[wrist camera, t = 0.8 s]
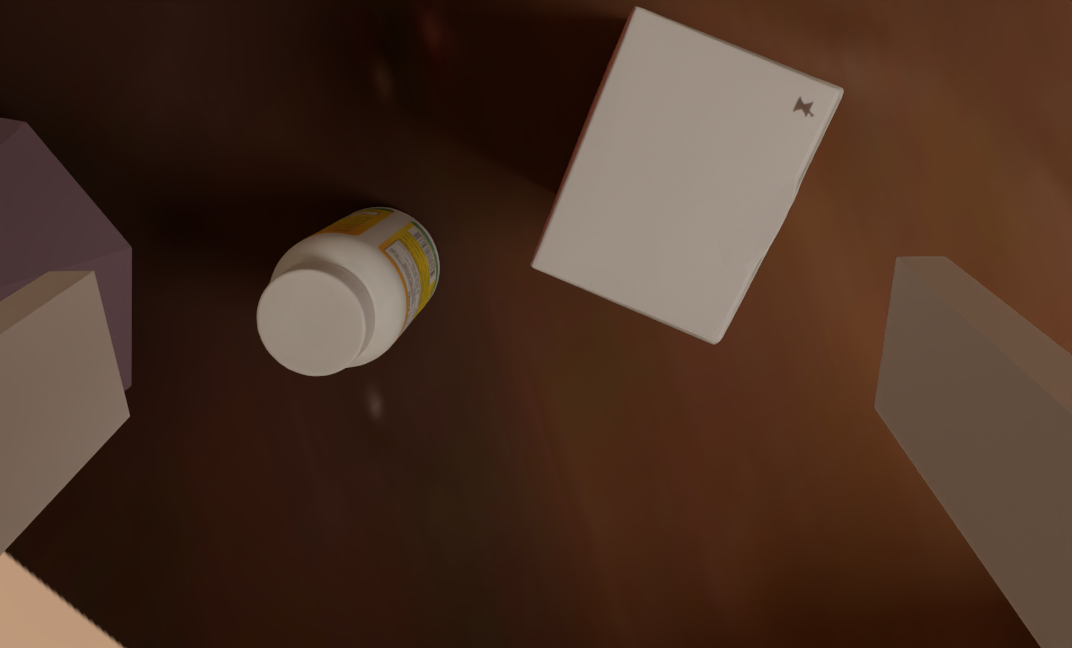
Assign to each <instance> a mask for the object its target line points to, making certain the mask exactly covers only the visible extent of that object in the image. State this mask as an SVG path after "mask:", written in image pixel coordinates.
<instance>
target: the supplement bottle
mask: <svg viewBox="0 0 1072 648" xmlns="http://www.w3.org/2000/svg"><path fill="white" fill-rule="evenodd" d="M439 269H440V266H439V257H438V252H437V249H436V246H435V244H434V242H433V240H432V238H431V236H430V234H429V233H428V232H427V230H426V229H425V228H424V227H423V226H422V225H421V224H420V223H419V222H418V221H417V220H415V219H414V218H413V217H411V216H409V215H408V214H406V213H404V212H402V211H399V210H396V209H392V208H387V207H372V208H366V209H362V210H359V211H356V212H354V213H352V214H350V215H348V216H346V217H344V218H342V219H340V220H339V221H337V222H335V223H333V224H332V225H330V226H328V227H326V228H324V229H322V230H320V231H319V232H317V233H315V234H313V235H311V236H309V237H308V238H306V239H304V240H302V241H300V242H299V243H297V244H296V245H294V246H293V247H292V248H291V249H289V250H288V251H287V252H286V253H285V254H284V256H283V257H282V258H281V259H280V261H279V262H278V264H277V266H276V268H275V270H274V272H273V275H272V278H271V281H270V284H269V285H268V286H267V287H266V289H265V290H264V292H263V294H262V295H261V298H260V300H259V304H258V308H257V327H258V331H259V335H260V337H261V340H262V342H263V344H264V345H265V347H266V349H267V350H268V352H269V353H270V354H271V355H272V356H273V357H274V358H275V359H276V360H277V361H278V362H279V363H280V364H282V365H283V366H285V367H286V368H288V369H290V370H292V371H295V372H297V373H300V374H304V375H309V376H324V375H330V374H333V373H336V372H338V371H341V370H343V369H344V368H348V367H355V366H359V365H363V364H366V363H368V362H370V361H372V360H374V359H376V358H378V357H379V356H380V355H382V354H383V353H384V352H386V351H387V350H388V349H389V348H390V347H391V345H392V344H393V343H394V342H395V341H396V340H397V339H398V337H399V336H400V335H401V334H402V333H403V331H404V330H405V329H406V328H407V327H408V325H409V324H410V323H411V321H412V320H413V319H414V318H415V317H416V315H417V314H418V313H419V312H420V311H421V310H422V308H423V307H424V306H425V305H426V304H427V302H428V301H429V299H430V298H431V296H432V295H433V293H434V291H435V289H436V286H437V283H438V278H439Z"/></svg>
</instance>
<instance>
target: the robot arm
mask: <svg viewBox="0 0 1072 648" xmlns="http://www.w3.org/2000/svg"><path fill="white" fill-rule="evenodd" d="M874 408H875V410H876V411H877V413H878V414H879V416H880V417H881V418H882V420H883V421H884V423H885V424H886V426H887V427H888V429H889V430H890V431H891V433H892V434H893V436H894V437H895V439H896V440H897V441H898V443H899V444H900V446H901V447H902V449H903V450H904V452H905V453H906V454H907V456H908V457H909V459H910V460H911V462H912V463H913V464H914V466H915V467H916V469H917V470H918V472H919V473H920V475H921V476H922V477H923V479H924V480H925V482H926V483H927V485H928V486H929V488H930V489H931V490H932V492H933V493H934V495H935V496H936V498H937V499H938V500H939V502H940V503H941V505H942V506H943V508H944V509H945V511H946V512H947V513H948V515H949V516H950V518H951V519H952V521H953V522H954V524H955V525H956V526H957V528H958V529H959V531H960V532H961V534H962V535H963V536H964V538H965V539H966V541H967V542H968V544H969V545H970V547H971V548H972V549H973V551H974V552H975V554H976V555H977V557H978V558H979V559H980V561H981V562H982V564H983V565H984V567H985V568H986V570H987V571H988V572H989V574H990V575H991V577H992V578H993V580H994V581H995V583H996V584H997V585H998V587H999V588H1000V590H1001V591H1002V593H1003V594H1004V595H1005V597H1006V598H1007V600H1008V601H1009V603H1010V604H1011V606H1012V607H1013V608H1014V610H1015V611H1016V613H1017V614H1018V616H1019V617H1020V619H1021V620H1022V621H1023V623H1024V624H1025V626H1026V627H1027V629H1028V630H1029V631H1030V633H1031V634H1032V636H1033V637H1034V639H1035V640H1036V642H1037V643H1038V644H1039V646H1040V647H1041V648H1072V355H1071V354H1070V353H1068V352H1067V351H1066V350H1064V349H1063V348H1062V347H1061V346H1059V345H1058V344H1057V343H1056V342H1054V341H1053V340H1052V339H1050V338H1049V337H1048V336H1047V335H1045V334H1044V333H1043V332H1041V331H1040V330H1039V329H1038V328H1036V327H1035V326H1034V325H1032V324H1031V323H1030V322H1029V321H1027V320H1026V319H1025V318H1024V317H1022V316H1021V315H1020V314H1018V313H1017V312H1016V311H1015V310H1013V309H1012V308H1011V307H1009V306H1008V305H1007V304H1006V303H1004V302H1003V301H1002V300H1001V299H999V298H998V297H997V296H995V295H994V294H993V293H992V292H990V291H989V290H988V289H986V288H985V287H984V286H983V285H981V284H980V283H979V282H977V281H976V280H975V279H974V278H972V277H971V276H970V275H969V274H967V273H966V272H965V271H963V270H962V269H961V268H960V267H958V266H957V265H956V264H954V263H953V262H952V261H951V260H949V259H948V258H947V257H945V256H922V257H896V264H895V271H894V277H893V284H892V291H891V297H890V304H889V311H888V318H887V324H886V331H885V338H884V344H883V351H882V358H881V365H880V371H879V378H878V385H877V392H876V398H875V405H874ZM129 417H130V414H129V410H128V406H127V402H126V398H125V394H124V390H123V386H122V381H121V377H120V373H119V369H118V365H117V361H116V357H115V353H114V349H113V345H112V341H111V337H110V333H109V329H108V325H107V321H106V317H105V313H104V309H103V305H102V301H101V297H100V292H99V288H98V284H97V280H96V276H95V272H94V271H49V272H47V273H45V274H44V275H42V276H41V277H39V278H37V279H36V280H34V281H33V282H31V283H29V284H28V285H26V286H24V287H23V288H21V289H20V290H18V291H16V292H15V293H13V294H12V295H10V296H8V297H7V298H5V299H4V300H2V301H0V555H1V554H2V553H3V552H4V551H5V550H6V549H7V548H8V547H9V545H10V544H11V543H12V542H13V541H14V540H15V539H16V538H17V537H18V536H19V535H20V534H21V533H22V532H23V530H24V529H25V528H26V527H27V526H28V525H29V524H30V523H31V522H32V521H33V520H34V519H35V518H36V517H37V515H38V514H39V513H40V512H41V511H42V510H43V509H44V508H45V507H46V506H47V505H48V504H49V503H50V501H51V500H52V499H53V498H54V497H55V496H56V495H57V494H58V493H59V492H60V491H61V490H62V489H63V488H64V486H65V485H66V484H67V483H68V482H69V481H70V480H71V479H72V478H73V477H74V476H75V475H76V474H77V472H78V471H79V470H80V469H81V468H82V467H83V466H84V465H85V464H86V463H87V462H88V461H89V460H90V459H91V457H92V456H93V455H94V454H95V453H96V452H97V451H98V450H99V449H100V448H101V447H102V446H103V445H104V443H105V442H106V441H107V440H108V439H109V438H110V437H111V436H112V435H113V434H114V433H115V432H116V431H117V430H118V428H119V427H120V426H121V425H122V424H123V423H124V422H125V421H126V420H127V419H128V418H129Z"/></svg>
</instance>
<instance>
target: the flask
mask: <svg viewBox="0 0 1072 648" xmlns="http://www.w3.org/2000/svg"><path fill="white" fill-rule="evenodd" d="M49 271H94V272H95V276H96V280H97V284H98V288H99V292H100V297H101V301H102V305H103V309H104V313H105V317H106V321H107V325H108V329H109V333H110V337H111V341H112V345H113V349H114V353H115V357H116V361H117V365H118V369H119V373H120V377H121V381H122V386H123V390H124V391H125V390H126V389H128V388H129V387H130V386H131V351H132V247H131V246H130V245H129V243H128V242H127V241H126V240H125V239H124V237H123V236H122V235H121V234H120V233H119V232H118V230H117V229H116V228H115V227H114V226H113V224H112V223H111V222H110V221H109V220H108V219H107V217H106V216H105V215H104V214H103V213H102V211H101V210H100V209H99V208H98V207H97V205H96V204H95V203H94V202H93V201H92V200H91V198H90V197H89V196H88V195H87V194H86V192H85V191H84V190H83V189H82V188H81V187H80V185H79V184H78V183H77V182H76V181H75V179H74V178H73V177H72V176H71V175H70V173H69V172H68V171H67V170H66V169H65V168H64V166H63V165H62V164H61V163H60V162H59V160H58V159H57V158H56V157H55V156H54V155H53V153H52V152H51V151H50V150H49V149H48V147H47V146H46V145H45V144H44V143H43V141H42V140H41V139H40V138H39V137H38V136H37V134H36V133H35V132H34V131H33V130H32V128H31V127H30V126H29V125H28V124H27V123H26V122H23V121H17V120H11V119H6V118H0V301H2V300H4V299H5V298H7V297H8V296H10V295H12V294H13V293H15V292H16V291H18V290H20V289H21V288H23V287H24V286H26V285H28V284H29V283H31V282H33V281H34V280H36V279H37V278H39V277H41V276H42V275H44V274H45V273H47V272H49Z"/></svg>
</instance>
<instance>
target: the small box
mask: <svg viewBox="0 0 1072 648" xmlns="http://www.w3.org/2000/svg"><path fill="white" fill-rule="evenodd" d="M843 92H844V90H843V89H842V87H839V86H836V85H834V84H831V83H828V82H826V81H823V80H820V79H818V78H815V77H813V76H810V75H808V74H805V73H803V72H800V71H798V70H795V69H793V68H790V67H788V66H785V65H783V64H780V63H778V62H775V61H773V60H770V59H768V58H765V57H763V56H761V55H758V54H756V53H753V52H751V51H748V50H746V49H743V48H741V47H738V46H736V45H733V44H731V43H728V42H726V41H723V40H721V39H718V38H716V37H713V36H711V35H708V34H706V33H703V32H701V31H698V30H696V29H693V28H691V27H688V26H686V25H683V24H681V23H678V22H676V21H673V20H670V19H668V18H665V17H663V16H660V15H658V14H656V13H653V12H651V11H648V10H646V9H644V8H640V7H634V8H633V9H632V11H631V13H630V15H629V17H628V19H627V21H626V23H625V26H624V28H623V31H622V33H621V36H620V38H619V40H618V43H617V45H616V47H615V50H614V52H613V54H612V57H611V59H610V61H609V64H608V66H607V69H606V71H605V73H604V76H603V78H602V81H601V83H600V86H599V88H598V90H597V93H596V95H595V98H594V100H593V103H592V105H591V108H590V110H589V113H588V116H587V118H586V121H585V123H584V126H583V128H582V131H581V133H580V136H579V138H578V141H577V143H576V146H575V148H574V151H573V154H572V156H571V159H570V161H569V164H568V166H567V169H566V171H565V174H564V177H563V179H562V182H561V185H560V187H559V190H558V193H557V195H556V198H555V201H554V203H553V206H552V208H551V211H550V213H549V216H548V218H547V220H546V223H545V225H544V228H543V231H542V233H541V236H540V239H539V242H538V244H537V247H536V250H535V252H534V255H533V257H532V260H531V263H530V265H531V267H533V268H534V269H537V270H539V271H541V272H544V273H546V274H549V275H551V276H553V277H556V278H558V279H560V280H563V281H565V282H567V283H570V284H572V285H574V286H577V287H579V288H582V289H584V290H586V291H589V292H591V293H593V294H596V295H598V296H600V297H603V298H605V299H607V300H610V301H612V302H614V303H617V304H619V305H622V306H624V307H626V308H629V309H631V310H633V311H636V312H638V313H641V314H643V315H645V316H648V317H650V318H652V319H655V320H657V321H659V322H662V323H664V324H666V325H669V326H671V327H673V328H676V329H678V330H681V331H683V332H685V333H688V334H690V335H692V336H695V337H697V338H699V339H702V340H704V341H706V342H709V343H711V344H716V343H718V342H720V340H721V339H722V337H723V336H724V334H725V332H726V330H727V328H728V326H729V324H730V322H731V321H732V319H733V317H734V315H735V313H736V311H737V309H738V307H739V305H740V303H741V301H742V299H743V298H744V296H745V294H746V292H747V290H748V288H749V286H750V284H751V282H752V280H753V278H754V276H755V274H756V272H757V270H758V268H759V266H760V264H761V262H762V260H763V258H764V257H765V255H766V253H767V251H768V249H769V247H770V245H771V244H772V242H773V240H774V238H775V237H776V235H777V233H778V231H779V230H780V228H781V226H782V224H783V222H784V220H785V218H786V216H787V213H788V211H789V209H790V207H791V205H792V203H793V201H794V199H795V197H796V195H797V192H798V189H799V187H800V184H801V182H802V179H803V177H804V175H805V173H806V171H807V169H808V166H809V164H810V162H811V160H812V158H813V156H814V154H815V152H816V150H817V148H818V146H819V144H820V142H821V140H822V137H823V135H824V133H825V131H826V129H827V127H828V125H829V123H830V121H831V119H832V117H833V115H834V112H835V110H836V108H837V106H838V104H839V102H840V100H841V98H842V95H843Z"/></svg>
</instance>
